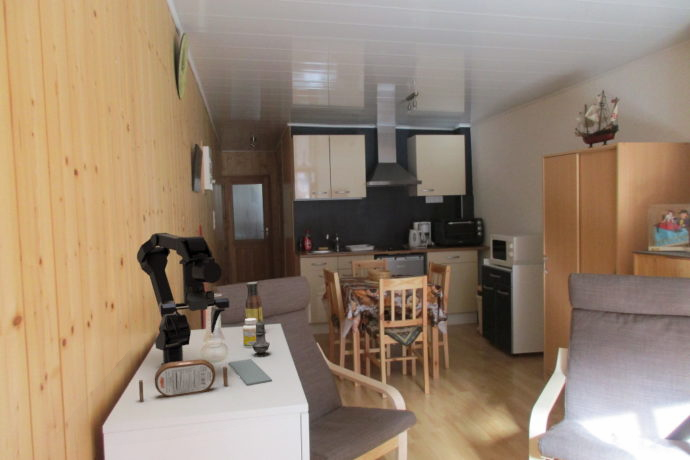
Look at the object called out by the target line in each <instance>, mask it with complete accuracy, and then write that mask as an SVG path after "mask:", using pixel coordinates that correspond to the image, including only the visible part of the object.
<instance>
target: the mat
mask: <svg viewBox="0 0 690 460" xmlns="http://www.w3.org/2000/svg"><path fill="white" fill-rule="evenodd" d="M228 365H229V366H230V367H231V369H232V368H233V369H234V370H235V371H234V370H233V369H232V370H233V371H234V372H235V373H236V375H237V374H238V375H239V376H240V377H239V376H238V375H237V376H238V377H239V378H240V379H241V380H243V381H242V382H243V383H244V384H245V386H246V387H247V386H254V385H259V384H260V385H261V384H265V383H269V382H270V383H271V382H273V379H272V378H271V377H270V376H269V375H268V373H266V371H264V370H263V369H262V368H261V367H260V366H259V365H258V364H257V363H256V362H254V360H253V359H252V358H248V359H241V360H236V361H229V362H228Z"/></svg>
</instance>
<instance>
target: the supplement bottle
mask: <svg viewBox="0 0 690 460" xmlns="http://www.w3.org/2000/svg"><path fill="white" fill-rule="evenodd" d="M256 322H257V321H256V318H247V319H246V318H245V319H244V325H243V327H242V334H243V340H242V341H243V347H244V348H245V349H253V346H252V344H253V343H255V342H256V334H255V332H256Z"/></svg>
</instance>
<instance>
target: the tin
mask: <svg viewBox="0 0 690 460" xmlns="http://www.w3.org/2000/svg"><path fill="white" fill-rule="evenodd" d="M215 381H216V370H215V367H214V365H213V364H212V363H211V361H208V360H207V359H203V358H201V359H200V358H199V359H193V360H192V359H190V360H183V361H179V362H170V363H167V364H164V365H163V366H160V367H159V368H158V369H157V371H156V372H155V376H154V385H155V389H156V390H157V392H159V394H161V395H163V396H164V397H177V396H185V395H192V394H200V393H205V392H206V391H208V390H210V388H212V386H213V385H214V382H215Z"/></svg>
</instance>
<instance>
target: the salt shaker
mask: <svg viewBox="0 0 690 460" xmlns="http://www.w3.org/2000/svg"><path fill="white" fill-rule="evenodd" d="M265 327H266V326H265V322H264V321H263V322H262V321H261V319H259V322H257V323H256V332H255V334H256V342H255V343H253V344H252V346H253V348H252V349H253V351H254V352H255V353H254V354H252V356H253V357H254V358H265V357H268V356H270V353H269V352H268V350H269V348H270V346H271V344H270V342H268V341H267V340H266V333H267V332H266V330H265Z"/></svg>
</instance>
